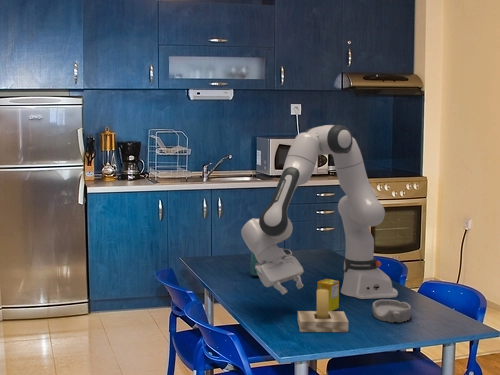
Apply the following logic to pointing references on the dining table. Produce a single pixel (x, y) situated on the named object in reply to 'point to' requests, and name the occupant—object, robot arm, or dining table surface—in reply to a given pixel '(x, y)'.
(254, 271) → the beverage bottle
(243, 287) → the dining table surface
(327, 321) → the hole block
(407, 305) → the dish
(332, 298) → the supplement box
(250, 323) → the dining table surface
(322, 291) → the pin
